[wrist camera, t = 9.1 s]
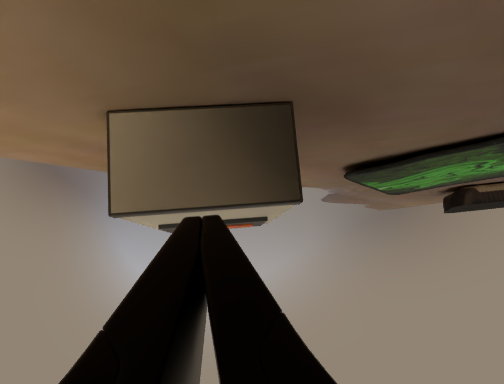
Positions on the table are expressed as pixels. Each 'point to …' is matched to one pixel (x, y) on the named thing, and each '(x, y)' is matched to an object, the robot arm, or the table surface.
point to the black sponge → (475, 198)
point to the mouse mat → (435, 169)
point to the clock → (203, 164)
